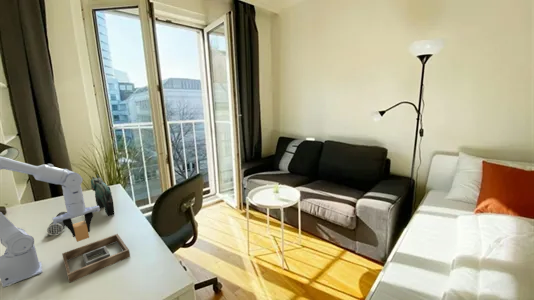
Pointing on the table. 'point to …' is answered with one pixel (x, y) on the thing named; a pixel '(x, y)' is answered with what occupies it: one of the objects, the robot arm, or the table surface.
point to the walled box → (98, 262)
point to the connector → (80, 231)
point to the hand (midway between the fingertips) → (81, 233)
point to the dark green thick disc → (103, 195)
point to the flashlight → (56, 226)
